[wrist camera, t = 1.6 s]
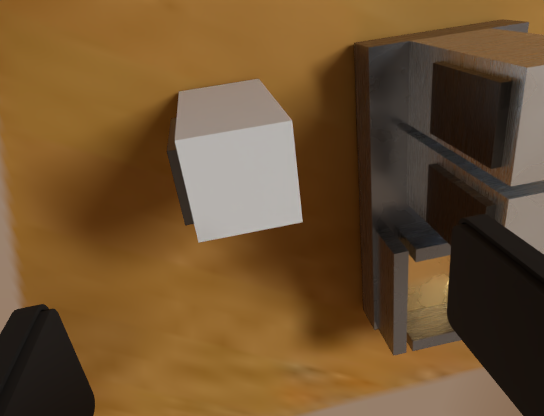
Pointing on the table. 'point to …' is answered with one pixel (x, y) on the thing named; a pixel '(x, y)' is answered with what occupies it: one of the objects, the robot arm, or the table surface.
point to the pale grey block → (234, 160)
